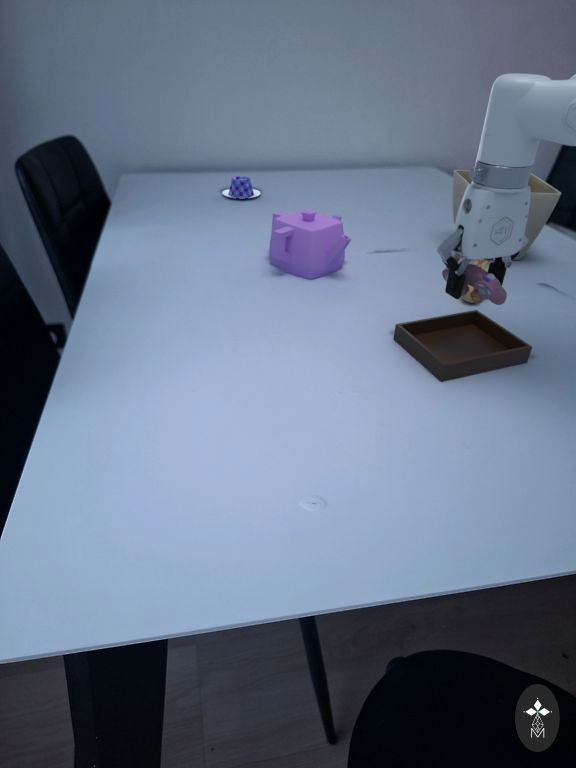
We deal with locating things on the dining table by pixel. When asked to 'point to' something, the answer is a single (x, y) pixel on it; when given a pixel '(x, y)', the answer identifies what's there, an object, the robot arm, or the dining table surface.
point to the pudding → (241, 188)
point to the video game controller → (481, 285)
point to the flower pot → (539, 209)
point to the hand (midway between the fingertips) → (472, 291)
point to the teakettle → (307, 243)
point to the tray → (461, 344)
